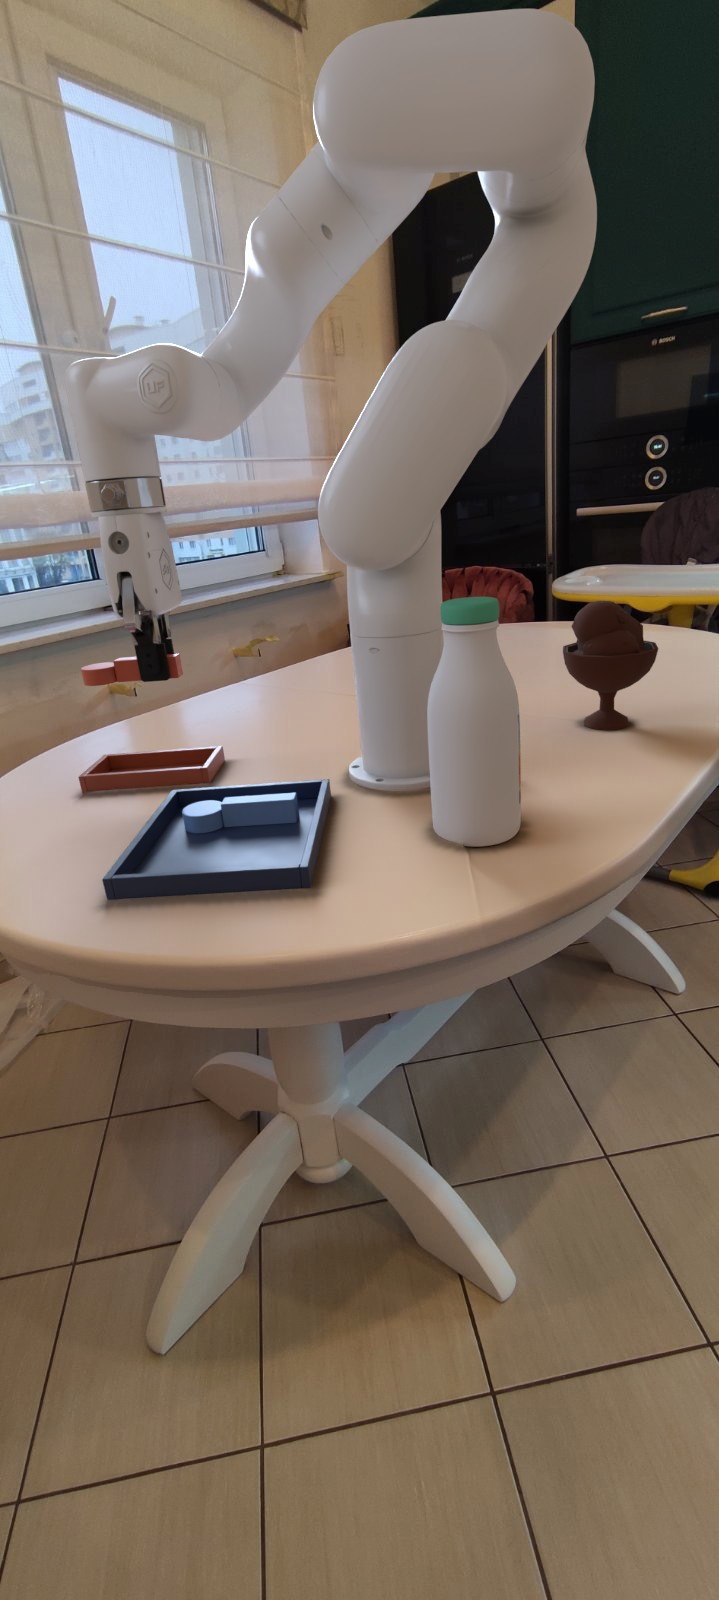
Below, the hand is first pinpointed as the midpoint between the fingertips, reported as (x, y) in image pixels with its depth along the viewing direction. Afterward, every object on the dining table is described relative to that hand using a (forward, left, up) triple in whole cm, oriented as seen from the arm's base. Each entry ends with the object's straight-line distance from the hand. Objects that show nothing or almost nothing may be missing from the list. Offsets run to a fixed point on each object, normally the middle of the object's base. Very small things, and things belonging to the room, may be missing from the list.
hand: (159, 676), depth 81 cm
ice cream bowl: (-52, -9, -12) cm, 54 cm away
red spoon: (+3, 0, 0) cm, 3 cm away
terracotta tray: (+3, 0, -12) cm, 12 cm away
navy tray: (-11, +20, -12) cm, 26 cm away
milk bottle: (-33, +20, -12) cm, 40 cm away
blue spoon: (-11, +16, -12) cm, 22 cm away
